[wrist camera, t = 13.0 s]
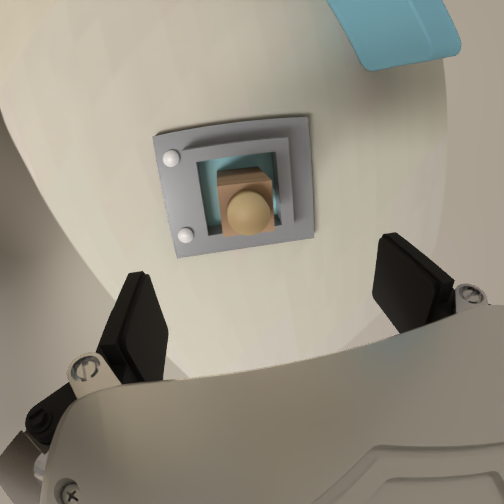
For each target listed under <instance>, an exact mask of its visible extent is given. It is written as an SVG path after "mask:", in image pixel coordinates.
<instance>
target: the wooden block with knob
mask: <svg viewBox="0 0 504 504" xmlns="http://www.w3.org/2000/svg"><path fill="white" fill-rule="evenodd" d="M217 191H218V199H219V207H220V216H221V224H222V231H223V237H229V236H237V235H247V236H249V235H255V234H258V233H262V232H270V231H275V226H274V208H273V191H272V180H271V179H270V178H269V177H268V176H267V175H266V174H265V173H264V172H263V171H262V170H261V169H260V168H259V167H247V168H237V169H228V170H220V171H217Z"/></svg>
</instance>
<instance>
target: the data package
mask: <svg viewBox="0 0 504 504" xmlns="http://www.w3.org/2000/svg"><path fill="white" fill-rule="evenodd" d="M327 2H328V3H329V5H330V6H331V8H332V10H333V11H334V13H335V15H336V17H337V18H338V20H339V22H340V24H341V25H342V27H343V29H344V31H345V33H346V34H347V36H348V38H349V40H350V42H351V44H352V46H353V48H354V50H355V52H356V54H357V56H358V58H359V60H360V62H361V64H362V65H363V66H364V67H365V68H366V69H367V70H369V71H377V70H381V69H386V68H391V67H396V66H401V65H407V64H413V63H419V62H426V61H430V60H435V59H440V58H446V57H451V56H456V55H457V54H458V53H459V52H460V50H461V40H460V37H459V35H458V32H457V30H456V28H455V25H454V23H453V21H452V19H451V17H450V15H449V13H448V11H447V9H446V7H445V5H444V3H443V1H442V0H327Z"/></svg>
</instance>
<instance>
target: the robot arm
mask: <svg viewBox="0 0 504 504" xmlns="http://www.w3.org/2000/svg"><path fill="white" fill-rule="evenodd" d="M453 284H454V279H452V278H451V277H450V276H449V275H448V274H447V273H446V272H444V271H443V270H442V269H441V268H439V266H437V265H436V264H435V263H434V262H433V261H431V260H430V259H429V258H428V257H427V256H425V255H424V254H423V253H422V252H420V251H419V250H418V249H417V248H415V247H414V246H413V245H412V244H410V243H409V242H408V241H407V240H405V239H404V238H403V237H401V236H400V235H399V234H398V233H396V232H394V233H388V234H383V235H382V238H380V239H379V243H378V252H377V261H376V268H375V276H374V283H373V290H372V295H373V298H374V300H375V301H376V302H377V304H378V305H379V306H380V308H381V309H382V310H383V312H384V313H385V314H386V315H387V317H388V318H389V319H390V321H391V322H392V324H393V325H394V326H395V328H396V329H397V330H398V332H399V333H400V334H398V335H395V336H392V337H389V338H385V339H382V340H378V341H376V342H372V343H368V344H365V345H361V346H357V347H354V348H350V349H346V350H343V351H339V352H335V353H331V354H327V355H322V356H318V357H314V358H309V359H305V360H300V361H295V362H291V363H286V364H280V365H275V366H270V367H264V368H259V369H253V370H247V371H240V372H234V373H227V374H219V375H211V376H202V377H193V378H184V379H171V380H163V373H164V365H165V357H166V349H167V342H168V327H167V325H166V322H165V319H164V316H163V314H162V311H161V308H160V305H159V302H158V299H157V297H156V294H155V291H154V288H153V285H152V282H151V279H150V276H149V275H148V274H145V273H144V272H143V271H140V272H134V273H129V274H128V276H127V278H126V280H125V283H124V285H123V287H122V289H121V292H120V294H119V296H118V299H117V301H116V303H115V306H114V308H113V310H112V311H111V314H110V316H109V319H108V321H107V324H106V326H105V329H104V331H103V334H102V337H101V339H100V342H99V345H98V347H97V350H96V353H94V352H89V353H84V354H82V355H80V356H78V357H77V358H75V359H74V360H73V361H72V362H71V364H70V365H69V367H68V370H67V377H68V380H69V382H68V383H67V384H65V385H64V386H62V387H61V388H60V389H58V390H57V391H55V392H54V393H53V394H51V395H50V396H48V397H47V398H45V399H44V400H42V401H41V402H40V403H38V404H37V405H35V406H34V407H33V408H32V409H31V410H30V411H29V413H28V414H27V417H26V422H25V426H26V431H25V432H23V431H22V430H21V431H20V432H19V433H18V434H17V435H16V437H15V438H14V439H13V441H12V442H11V443H10V444H9V445H8V446H7V448H6V449H5V450H4V452H3V453H2V454H1V455H0V485H1V486H2V488H3V489H4V491H5V492H6V494H7V495H8V496H9V498H10V499H11V500H12V502H13V503H14V504H504V306H503V305H491V304H488V301H487V297H486V295H485V293H484V292H483V291H482V290H481V289H480V288H478V287H476V286H475V285H471V284H460V285H458V286H457V288H456V289H455V290H454V289H453V288H452V287H453Z"/></svg>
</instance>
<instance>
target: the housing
mask: <svg viewBox="0 0 504 504" xmlns="http://www.w3.org/2000/svg"><path fill="white" fill-rule="evenodd" d="M153 143H154V149H155V155H156V161H157V166H158V172H159V177H160V183H161V188H162V193H163V198H164V203H165V208H166V212H167V217H168V222H169V226H170V231H171V235H172V239H173V244H174V248H175V252H176V256H177V258H183V257H189V256H196V255H202V254H209V253H216V252H222V251H229V250H236V249H242V248H249V247H256V246H262V245H269V244H276V243H283V242H289V241H296V240H303V239H310V238H314V211H313V185H312V166H311V150H310V136H309V124H308V117H291V118H276V119H263V120H253V121H243V122H234V123H227V124H219V125H212V126H206V127H199V128H193V129H188V130H182V131H177V132H172V133H167V134H162V135H157V136H153ZM247 167H259V168H260V169H261V170H262V171H263V172H264V173H265V174H266V175H267V176H268V177H269V178H270V179H271V180H272V191H273V208H274V226H275V231H270V232H262V233H258V234H255V235H249V236H247V235H237V236H229V237H223V231H222V224H221V216H220V207H219V199H218V191H217V171H220V170H228V169H237V168H247Z"/></svg>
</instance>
